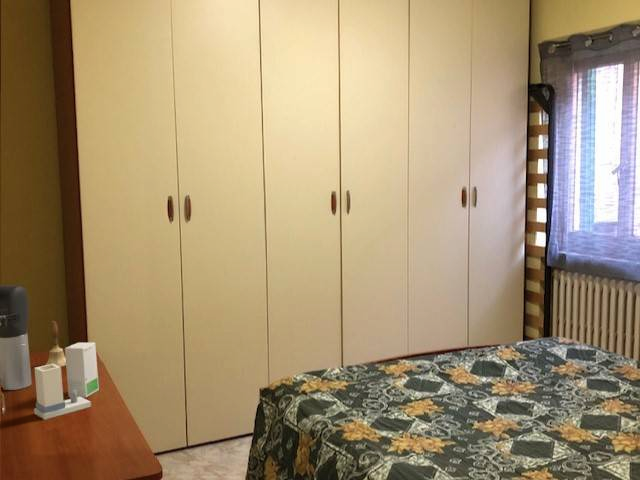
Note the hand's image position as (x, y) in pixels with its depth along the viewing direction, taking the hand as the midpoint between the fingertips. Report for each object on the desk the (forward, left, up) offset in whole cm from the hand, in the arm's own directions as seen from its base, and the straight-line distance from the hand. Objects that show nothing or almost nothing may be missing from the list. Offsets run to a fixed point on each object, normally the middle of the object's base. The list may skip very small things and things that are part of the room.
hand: (13, 315), depth 199 cm
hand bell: (-9, +55, -30) cm, 64 cm away
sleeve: (+7, +4, -29) cm, 30 cm away
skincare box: (+11, +21, -30) cm, 39 cm away
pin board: (+9, +7, -30) cm, 32 cm away
